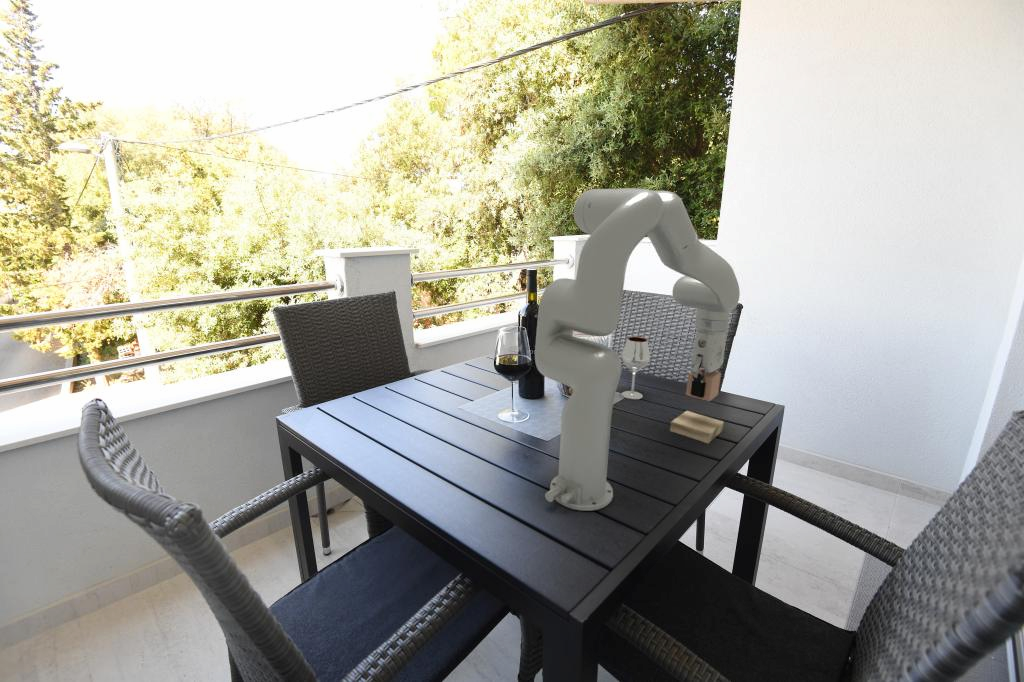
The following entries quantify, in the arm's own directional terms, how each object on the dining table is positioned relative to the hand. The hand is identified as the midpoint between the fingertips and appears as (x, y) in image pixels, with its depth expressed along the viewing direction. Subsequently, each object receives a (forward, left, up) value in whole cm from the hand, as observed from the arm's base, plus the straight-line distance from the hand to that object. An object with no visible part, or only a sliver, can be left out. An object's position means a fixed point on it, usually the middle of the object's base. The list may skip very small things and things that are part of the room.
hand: (702, 391), depth 124 cm
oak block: (0, 0, -11) cm, 11 cm away
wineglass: (+10, +24, -11) cm, 28 cm away
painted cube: (0, 0, -1) cm, 1 cm away
